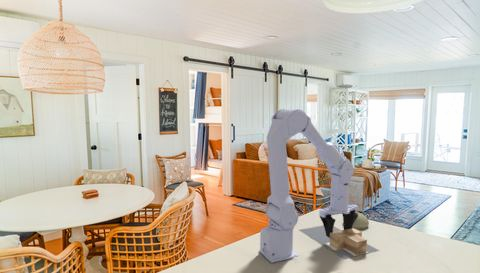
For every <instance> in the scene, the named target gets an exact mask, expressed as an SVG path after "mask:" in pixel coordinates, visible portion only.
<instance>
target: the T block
mask: <svg viewBox="0 0 480 273" xmlns="http://www.w3.org/2000/svg"><path fill="white" fill-rule="evenodd" d="M367 244H368V239H366V238H365V237H363V233H362V231H361V230H360V229H355V228H352V229H347V230H344V229H342V231H337V232H332V233H330V245H331V246H332V247H334V248H335V249H342V248H346V249H347V250H349V251H351V252H352V253H354V254H356V255H358V254H362V253H366V251H367Z"/></svg>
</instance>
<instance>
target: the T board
mask: <svg viewBox="0 0 480 273" xmlns="http://www.w3.org/2000/svg"><path fill="white" fill-rule="evenodd" d="M342 230H343V229H342ZM342 230H341V229H340V228H337V227H336V226H335V225H334V226H333V232H337V231H342ZM299 231H300V232H301V233H303V234H304V235H305V236H307V237H309V238H310V239H312V240H313V241H315V242H317V243H318V244H320V245H321V246H323V247H324V248H326V249H328V250H329V251H331V252H332V253H334V254H335V255H337V256H338V257H340V258H342V259H343V260H347V259H351V258H352V259H353V258H355V257H356V258H357V257H359V256H362V255H368V254H370V253H371V254H372V253H375V252H379V251H380V249H377V248H376V247H374V246H373V245H370V244H368V243H367V251H366V253H362V254H358V255H356V254H354V253H352V252H351V251H349V250H347V249H346V248H342V249H335V248H334V247H332V246H331V245H330V238H329V237H327V236H326V232H325V228H324V225H323V224H322V225H319V226H318V225H317V226H313V227H307V228H303V229H299Z"/></svg>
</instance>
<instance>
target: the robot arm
mask: <svg viewBox="0 0 480 273" xmlns="http://www.w3.org/2000/svg"><path fill="white" fill-rule="evenodd" d="M311 118H312V117H310V116H309V115H307V113H306V111H304V110H303V109H299V108H298V109H284V108H282V109H278V110H277V111H276V112H275V113H274V114H273V115H272V116H271V124H270V127H269V130H268V132H267V136H266V147H267V156H268V171H269V181H270V182H269V184H270V195H269V196H268V197H267V199H266V200H267V202H266V207H265V215H266V217H267V218H268V225H267V226H265V227H263V228H261V230H260V235H259V237H260V239H259V240H260V241H259V242H260V243H259V244H260V245H259V247H260V248H259V249H258V252H259V253H260V254H261V255H263V257H265V258H266V259H267V260H268V262H270V263H277V262H281V261H286V260H290V259H295V258H294V257H299V254H298V253H297V252H295V250H293V249H294V248H293V244H294V243H293V242H294V239H293V238H294V229H295V227H296V226H297V224H298V220H299V214H298V211H297V210H296V207H295V202H294V200H293V199H292V197H291V196H290V185H289V184H290V183H289V169H288V156H287V155H288V154H287V153H288V152H287V143H288V141H289V140H290V139H291V138H293V137H294V136H295V135H298V134H299V133H300V134H302V135H303V136H304V137H305V138H306V139H307V140H308V141H309V143H310V144H312V145H313V146H314V148H316V155H317V156H318V157H319V158H320V159H321V161H322V162H323V163H324V164H325V166H326V167H327V171H328V173H330V198H329V200H330V201H329V202H330V204H329V206H327V207H325V208H323V209H319V212H318V213H319V218H320V220H321V222H322V226H323V225H324V228H325V232H326V236H327V237H329V238H330V233H332V232H333V226H334V227H335V223H336V219H335V218H333V216H335V215H341V214H342V220H343V221H344V222H343V221H342V222H343V230H347V229H352V226H353V224H354V222H355V220H356V219H357V217H358V214H357V213H359V206H358V205H356V204H350V203H349V199H350V183H351V181H352V177H353V175H354V172H355V168H354V166H353V164H352V162H351V161H350V160H348V159H345V156H344V155H343V154H342V153H340V151H339V150H338V149H337V146H336V144H335V143H332V142H327V141H326V140H325V139H324V137H323V136H322V134H321V133H320V132H319V131H318V130H317V128H316V127H315V126H314V123H313V122H312V119H311ZM355 212H357V213H355Z"/></svg>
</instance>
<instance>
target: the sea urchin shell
mask: <svg viewBox="0 0 480 273" xmlns="http://www.w3.org/2000/svg"><path fill="white" fill-rule="evenodd" d="M355 213H357V214H358V217H357V219H356V220H355V222H354V224H353V226H352V228H355V229H357V230H363V229H367V228H368V227H369V224H370V221H369V220H368V218H367V217H366V216H365V215H364V214H363V213H361V212H355ZM342 222H343V223H344V221H342Z"/></svg>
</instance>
